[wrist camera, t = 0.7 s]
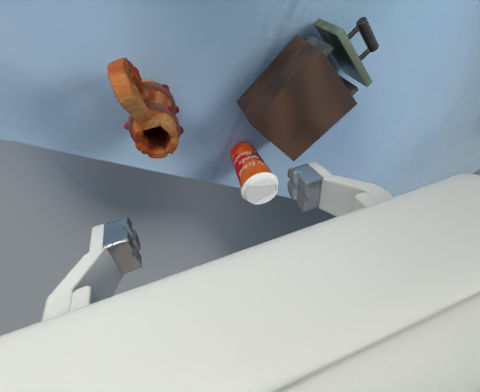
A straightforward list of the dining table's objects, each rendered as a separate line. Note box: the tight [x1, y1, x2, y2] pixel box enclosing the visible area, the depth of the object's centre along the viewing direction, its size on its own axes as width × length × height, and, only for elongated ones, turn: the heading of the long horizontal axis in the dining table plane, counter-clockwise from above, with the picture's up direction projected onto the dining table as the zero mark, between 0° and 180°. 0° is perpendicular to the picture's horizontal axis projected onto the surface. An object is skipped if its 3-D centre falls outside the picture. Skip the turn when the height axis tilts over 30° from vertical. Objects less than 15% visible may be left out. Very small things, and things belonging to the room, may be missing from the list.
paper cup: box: [231, 142, 278, 204], centre depth 57 cm, size 8×8×14 cm
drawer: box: [305, 17, 379, 96], centre depth 49 cm, size 19×12×8 cm, turn 134°
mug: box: [107, 58, 184, 158], centre depth 41 cm, size 15×8×15 cm, turn 16°
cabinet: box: [237, 35, 357, 161], centre depth 51 cm, size 16×14×10 cm
